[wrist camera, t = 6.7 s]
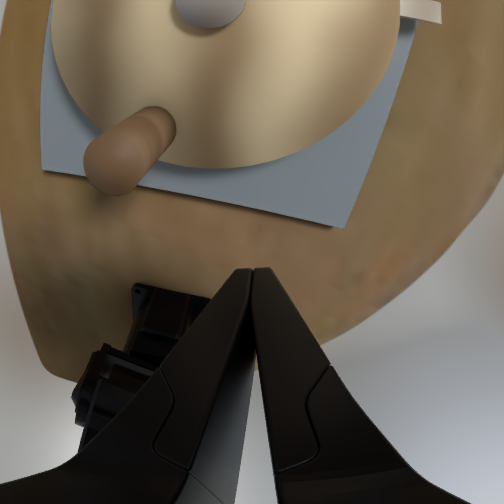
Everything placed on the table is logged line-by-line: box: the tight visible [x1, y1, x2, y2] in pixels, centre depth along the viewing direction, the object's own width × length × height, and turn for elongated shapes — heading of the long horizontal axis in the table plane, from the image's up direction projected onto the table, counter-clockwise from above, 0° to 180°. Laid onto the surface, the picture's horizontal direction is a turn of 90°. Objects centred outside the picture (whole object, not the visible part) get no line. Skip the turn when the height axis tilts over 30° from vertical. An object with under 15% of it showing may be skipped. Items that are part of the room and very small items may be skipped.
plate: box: [40, 0, 418, 229], centre depth 13 cm, size 22×20×1 cm
